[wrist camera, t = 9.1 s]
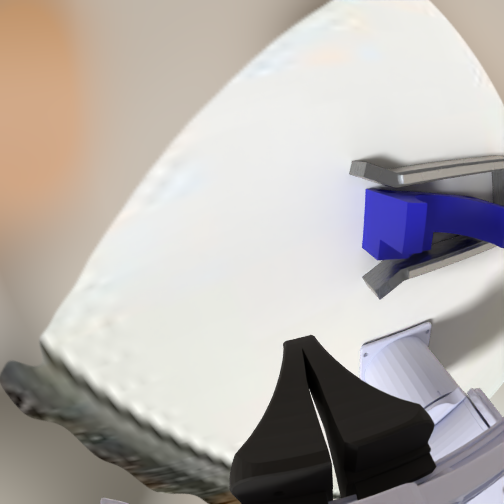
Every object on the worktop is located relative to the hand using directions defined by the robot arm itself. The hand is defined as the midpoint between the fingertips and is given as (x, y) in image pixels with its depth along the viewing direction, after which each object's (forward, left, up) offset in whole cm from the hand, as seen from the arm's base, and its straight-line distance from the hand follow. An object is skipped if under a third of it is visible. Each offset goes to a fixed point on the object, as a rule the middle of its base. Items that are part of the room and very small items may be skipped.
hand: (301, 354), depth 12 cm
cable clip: (+1, -13, -10) cm, 16 cm away
